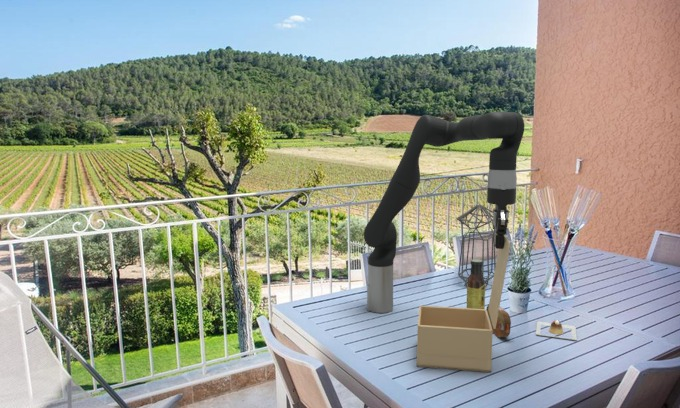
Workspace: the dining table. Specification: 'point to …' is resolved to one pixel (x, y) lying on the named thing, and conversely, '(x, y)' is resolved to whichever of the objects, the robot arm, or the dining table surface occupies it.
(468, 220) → the geometric lantern
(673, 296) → the dining table surface
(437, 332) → the carton
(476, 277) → the sauce bottle
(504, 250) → the lid flap
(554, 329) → the dessert
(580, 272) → the dining table surface
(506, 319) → the steak
